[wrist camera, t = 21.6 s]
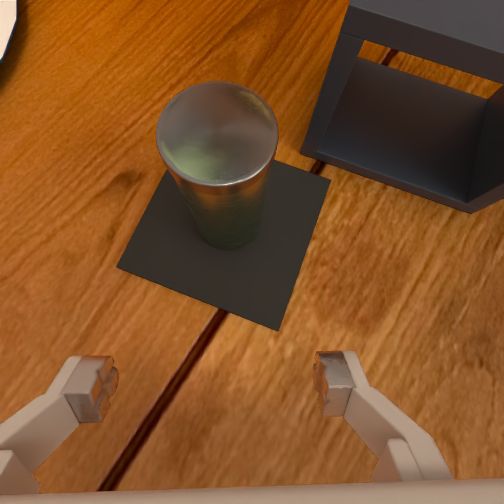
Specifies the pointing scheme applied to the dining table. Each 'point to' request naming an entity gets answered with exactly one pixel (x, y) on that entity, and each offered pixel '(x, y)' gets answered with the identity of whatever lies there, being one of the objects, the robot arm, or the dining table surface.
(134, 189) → the dining table surface
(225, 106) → the tin
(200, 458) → the dining table surface
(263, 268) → the mat
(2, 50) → the plate
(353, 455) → the dining table surface
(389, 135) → the shelf
